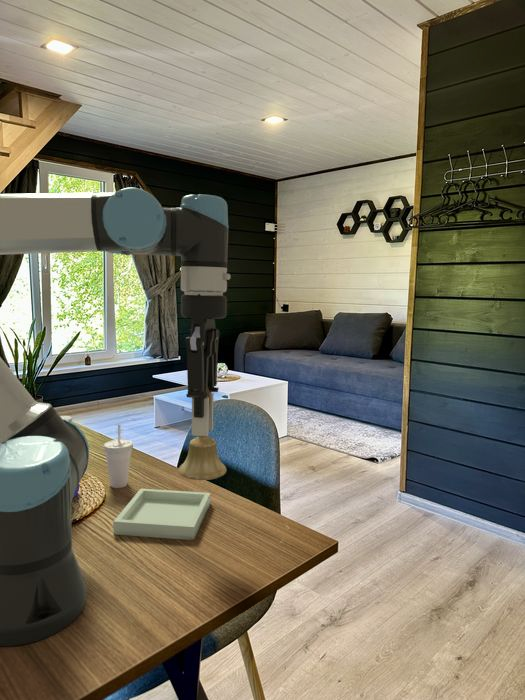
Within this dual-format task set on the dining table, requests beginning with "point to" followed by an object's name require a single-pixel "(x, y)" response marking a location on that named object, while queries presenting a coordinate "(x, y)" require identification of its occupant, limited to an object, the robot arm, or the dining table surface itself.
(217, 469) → the hand bell
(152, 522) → the tray
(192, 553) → the dining table surface
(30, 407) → the robot arm
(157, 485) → the dining table surface
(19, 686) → the dining table surface
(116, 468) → the smoothie
